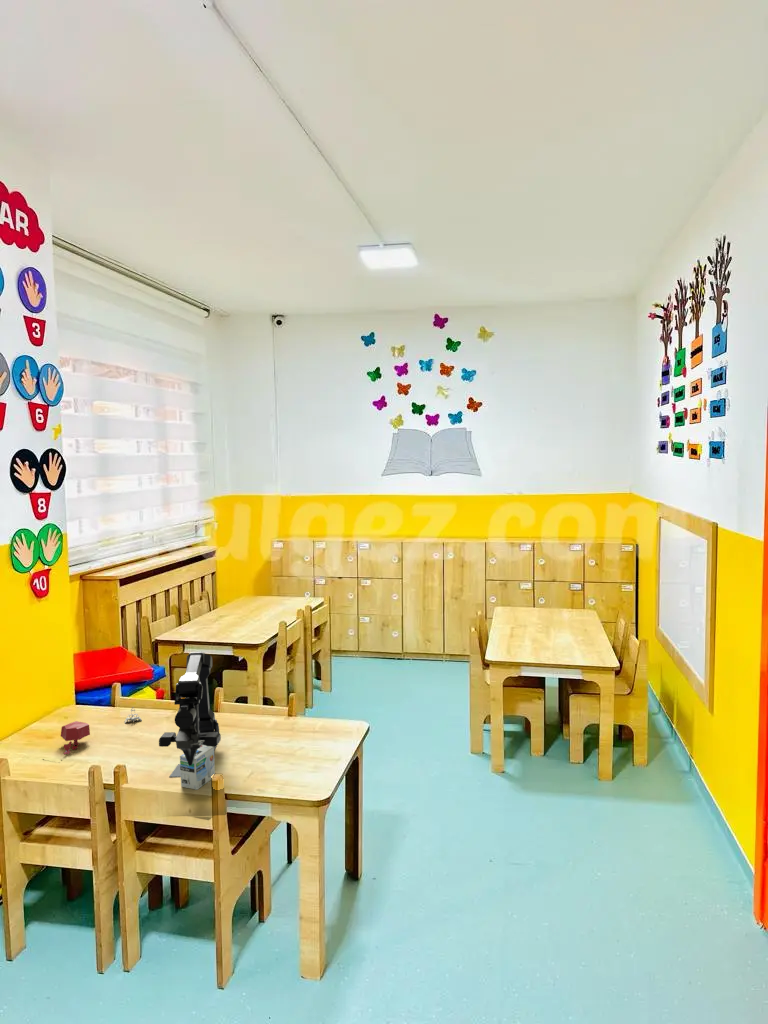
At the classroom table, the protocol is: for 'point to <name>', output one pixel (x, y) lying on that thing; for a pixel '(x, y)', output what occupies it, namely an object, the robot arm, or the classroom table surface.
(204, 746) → the light bulb box
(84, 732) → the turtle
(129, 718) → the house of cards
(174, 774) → the slate mat
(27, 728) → the classroom table surface
